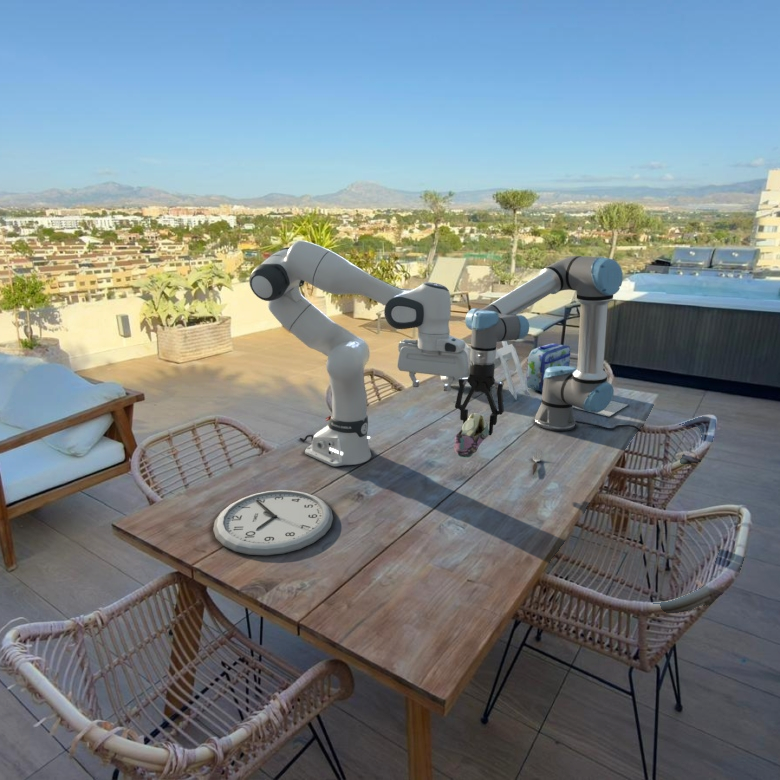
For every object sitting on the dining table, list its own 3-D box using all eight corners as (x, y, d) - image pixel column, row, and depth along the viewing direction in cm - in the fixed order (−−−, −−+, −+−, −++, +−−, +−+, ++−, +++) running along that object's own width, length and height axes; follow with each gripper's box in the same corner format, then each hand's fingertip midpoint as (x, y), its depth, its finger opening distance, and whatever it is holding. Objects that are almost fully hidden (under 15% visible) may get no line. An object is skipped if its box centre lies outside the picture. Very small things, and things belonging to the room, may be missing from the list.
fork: (528, 475, 162) (529, 469, 161) (533, 455, 176) (534, 449, 176) (537, 476, 161) (537, 470, 160) (541, 456, 175) (542, 451, 175)
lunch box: (542, 395, 240) (547, 351, 233) (522, 390, 247) (526, 347, 241) (569, 384, 257) (575, 343, 251) (550, 380, 264) (554, 339, 258)
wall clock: (331, 546, 121) (198, 551, 119) (331, 552, 122) (199, 557, 119) (333, 485, 150) (227, 488, 147) (334, 490, 150) (227, 493, 148)
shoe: (493, 431, 168) (495, 406, 165) (476, 461, 146) (478, 432, 144) (468, 427, 171) (469, 402, 168) (447, 456, 149) (448, 428, 147)
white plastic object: (461, 429, 252) (437, 405, 227) (444, 352, 274) (420, 323, 250) (535, 404, 240) (518, 377, 215) (510, 326, 262) (492, 293, 237)
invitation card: (608, 416, 214) (573, 407, 224) (608, 416, 214) (573, 408, 224) (628, 404, 229) (594, 396, 238) (628, 405, 229) (594, 397, 238)
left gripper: (394, 340, 148) (393, 387, 152) (465, 347, 140) (462, 396, 145) (402, 336, 153) (401, 381, 157) (471, 343, 146) (468, 390, 150)
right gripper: (446, 361, 160) (443, 430, 166) (514, 368, 152) (507, 441, 159) (453, 356, 166) (449, 423, 173) (518, 363, 159) (512, 432, 166)
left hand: (431, 388), depth 151 cm, fingers open, 8 cm apart
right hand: (477, 431), depth 166 cm, fingers closed on shoe, 8 cm apart
